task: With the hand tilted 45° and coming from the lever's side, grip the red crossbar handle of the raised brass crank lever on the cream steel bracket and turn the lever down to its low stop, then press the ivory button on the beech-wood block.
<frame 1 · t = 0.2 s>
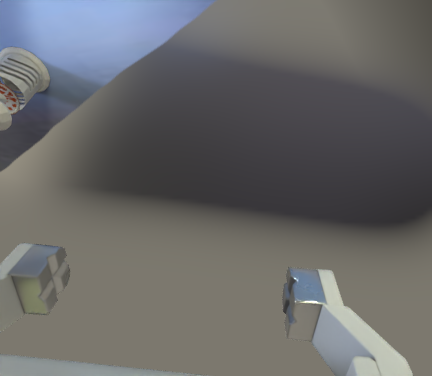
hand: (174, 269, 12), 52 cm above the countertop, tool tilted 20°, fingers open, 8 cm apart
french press: (20, 67, 66), on the countertop
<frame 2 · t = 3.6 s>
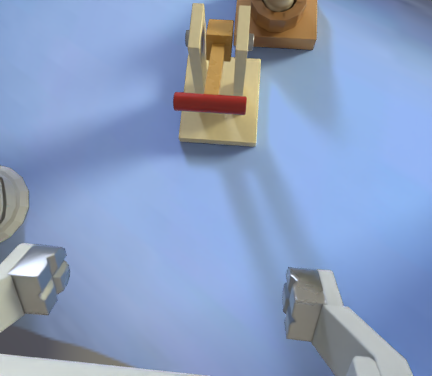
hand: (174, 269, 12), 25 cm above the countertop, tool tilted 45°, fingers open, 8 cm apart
crank bracket: (220, 102, 41), on the countertop
lever: (215, 66, 27), point 13 cm above the countertop, hinge at 25.0°
button block: (274, 20, 44), on the countertop
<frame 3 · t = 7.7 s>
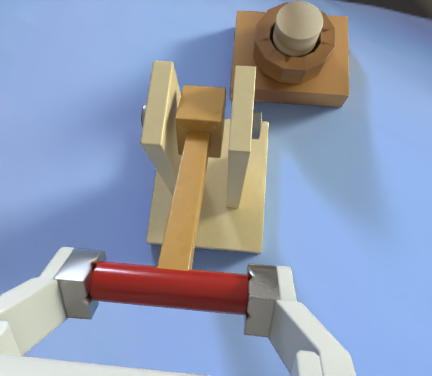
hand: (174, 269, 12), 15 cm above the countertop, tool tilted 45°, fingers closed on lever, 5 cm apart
crank bracket: (210, 183, 28), on the countertop
lever: (191, 181, 15), point 13 cm above the countertop, hinge at 25.0°, touching gripper
button: (297, 29, 27), point 5 cm above the countertop, slide at 0.1 cm
button block: (286, 65, 31), on the countertop
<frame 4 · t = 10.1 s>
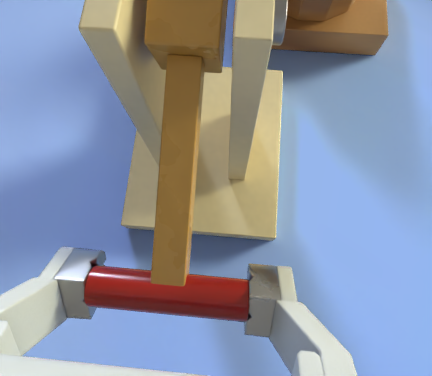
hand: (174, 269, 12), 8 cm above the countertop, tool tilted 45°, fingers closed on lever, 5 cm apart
crank bracket: (207, 150, 22), on the countertop
lever: (180, 145, 11), point 10 cm above the countertop, hinge at -17.1°, touching gripper
button block: (304, 4, 25), on the countertop
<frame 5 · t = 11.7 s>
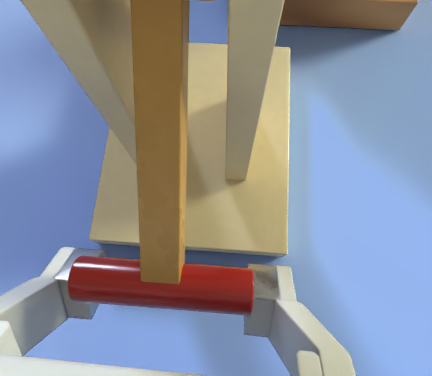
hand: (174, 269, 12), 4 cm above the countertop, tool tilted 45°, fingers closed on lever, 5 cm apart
crank bracket: (199, 145, 18), on the countertop
lever: (162, 118, 8), point 9 cm above the countertop, hinge at -37.2°, touching gripper
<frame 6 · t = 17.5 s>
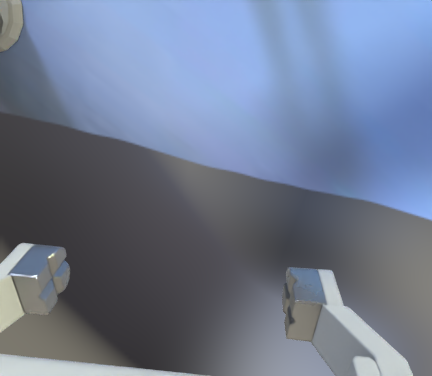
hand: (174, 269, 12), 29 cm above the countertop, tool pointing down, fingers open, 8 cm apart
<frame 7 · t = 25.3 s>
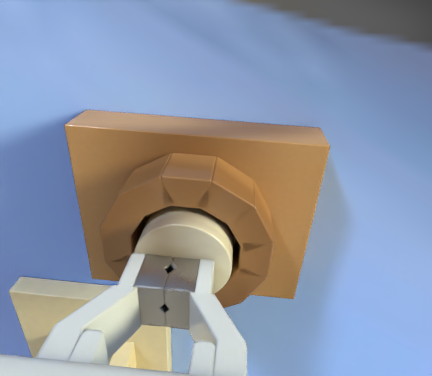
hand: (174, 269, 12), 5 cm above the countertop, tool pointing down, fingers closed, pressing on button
crank bracket: (105, 342, 22), on the countertop
button: (186, 246, 13), point 4 cm above the countertop, slide at -0.9 cm, touching gripper
button block: (198, 198, 16), on the countertop
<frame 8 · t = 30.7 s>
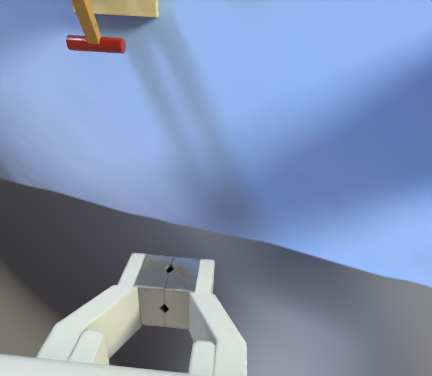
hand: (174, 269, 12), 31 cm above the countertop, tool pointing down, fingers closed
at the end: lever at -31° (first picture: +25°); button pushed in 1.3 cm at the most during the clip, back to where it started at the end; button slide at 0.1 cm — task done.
